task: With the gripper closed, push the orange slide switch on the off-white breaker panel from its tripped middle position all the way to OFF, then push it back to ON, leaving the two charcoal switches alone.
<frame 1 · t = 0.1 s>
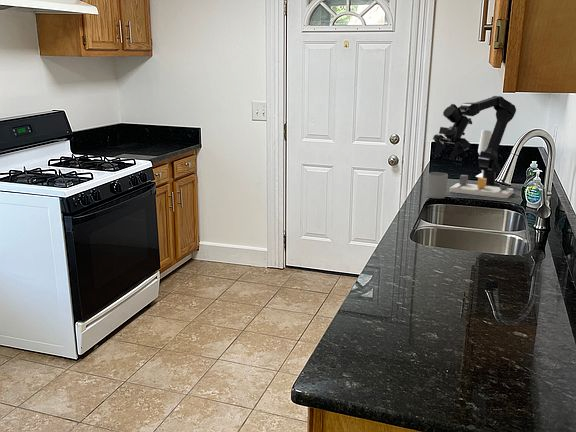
hand: (442, 157, 253), 15 cm above the counter, tool tilted 35°, fingers open, 9 cm apart
cup: (436, 196, 244), on the counter
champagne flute: (482, 176, 288), on the counter
breaker panel: (481, 192, 251), on the counter
switch 1: (463, 179, 257), point 4 cm above the counter, slide at 0.0 cm
switch tripped: (481, 182, 250), point 4 cm above the counter, slide at 3.0 cm
switch 2: (504, 184, 247), point 4 cm above the counter, slide at 0.0 cm
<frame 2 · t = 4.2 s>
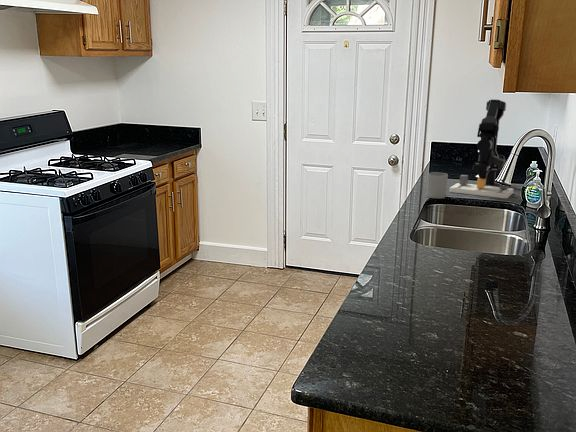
hand: (483, 183, 252), 4 cm above the counter, tool pointing down, fingers closed
switch tripped: (481, 183, 249), point 4 cm above the counter, slide at 4.0 cm, touching gripper
everything else where it was.
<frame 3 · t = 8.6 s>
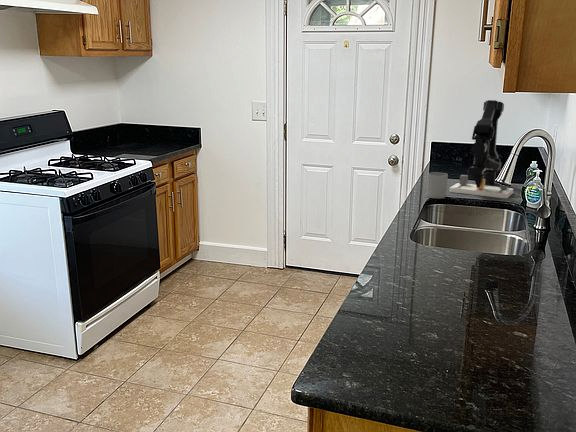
hand: (478, 187, 246), 3 cm above the counter, tool pointing down, fingers closed
switch tripped: (480, 183, 248), point 4 cm above the counter, slide at 4.9 cm, touching gripper
everything else where it was.
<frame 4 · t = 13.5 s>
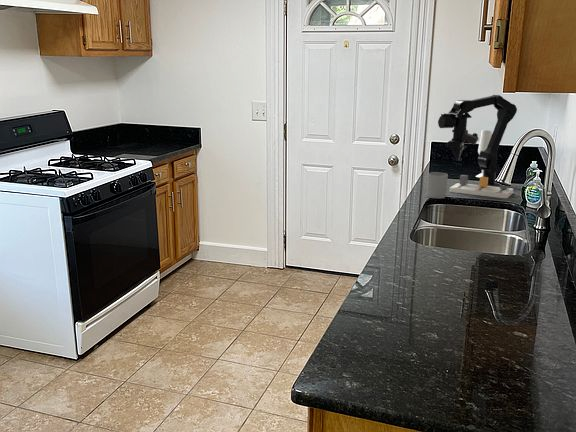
hand: (457, 160, 263), 12 cm above the counter, tool pointing down, fingers closed
switch tripped: (483, 181, 252), point 4 cm above the counter, slide at -0.1 cm
everything else where it was.
at the end: switch tripped slide at -0.1 cm; switch 2 slide at 0.0 cm; switch 1 slide at 0.0 cm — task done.
